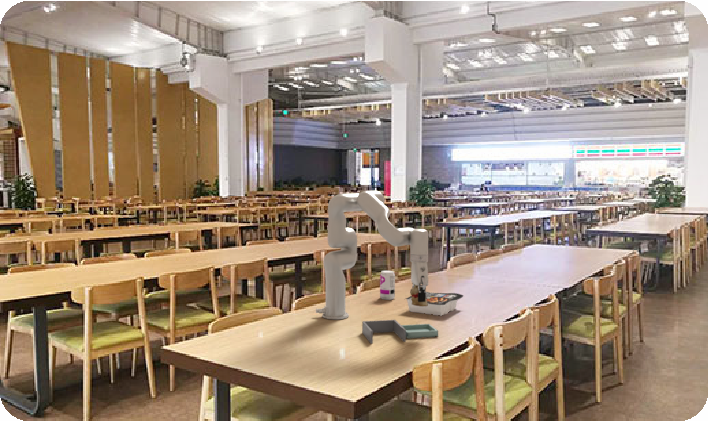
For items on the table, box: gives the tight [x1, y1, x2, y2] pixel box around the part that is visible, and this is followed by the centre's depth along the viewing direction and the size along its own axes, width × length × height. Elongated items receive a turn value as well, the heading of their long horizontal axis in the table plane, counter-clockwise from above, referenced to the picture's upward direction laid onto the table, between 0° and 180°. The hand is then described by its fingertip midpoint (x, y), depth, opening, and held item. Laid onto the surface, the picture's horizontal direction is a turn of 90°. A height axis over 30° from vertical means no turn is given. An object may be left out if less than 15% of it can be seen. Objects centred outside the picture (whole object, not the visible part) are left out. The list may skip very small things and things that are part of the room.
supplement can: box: [379, 270, 396, 301], centre depth 310 cm, size 8×8×15 cm
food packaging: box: [405, 291, 464, 317], centre depth 283 cm, size 25×8×23 cm
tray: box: [400, 323, 439, 339], centre depth 240 cm, size 14×12×2 cm
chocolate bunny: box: [409, 284, 428, 306], centre depth 239 cm, size 6×8×10 cm
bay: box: [361, 319, 407, 345], centre depth 235 cm, size 15×16×5 cm
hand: (418, 299), depth 239 cm, fingers closed on chocolate bunny, 6 cm apart
